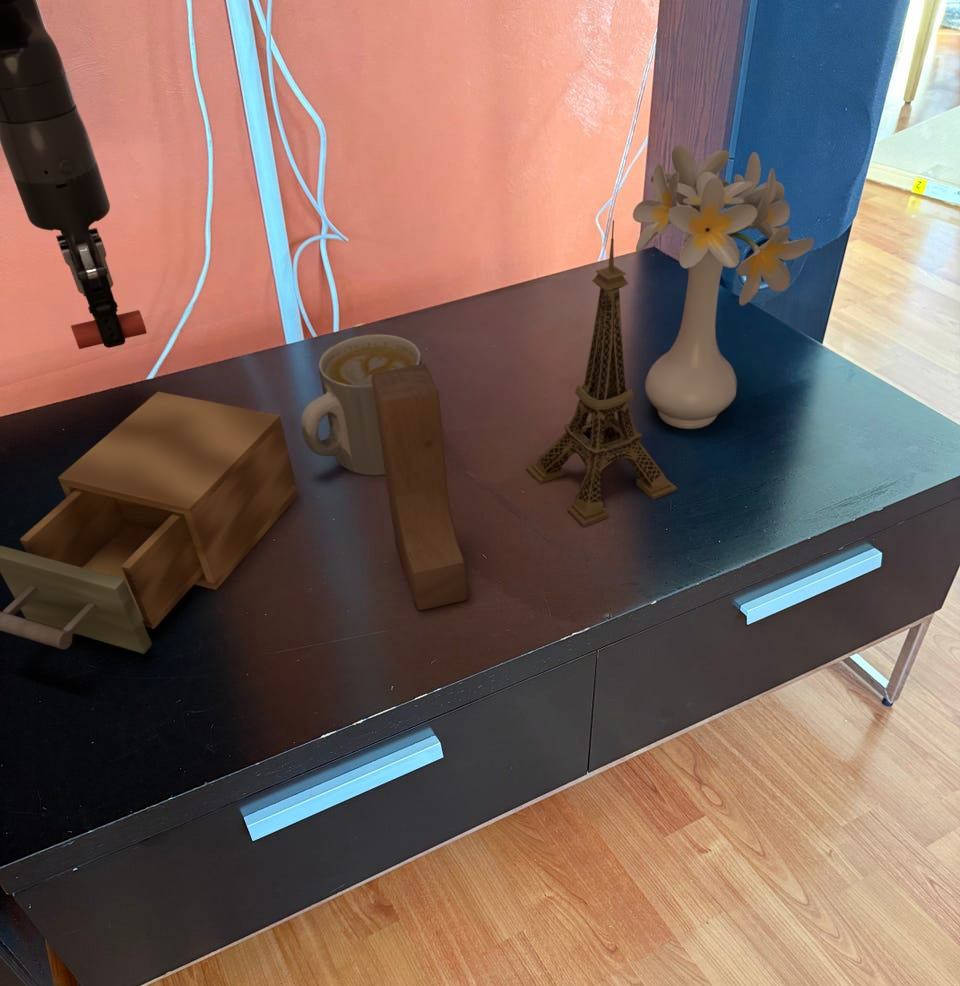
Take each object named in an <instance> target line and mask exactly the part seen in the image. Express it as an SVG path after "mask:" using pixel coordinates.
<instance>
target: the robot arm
mask: <svg viewBox="0 0 960 986" xmlns="http://www.w3.org/2000/svg"><path fill="white" fill-rule="evenodd" d="M0 145H1V149H2V151H3V154H4V157H5V160H6V162H7V165H8V168H9V171H10V173H11V176H12V178H13V181H14V184H15V186H16V189H17V191H18V195H19V196H20V197H19V198H20V199H21V202H22V205H23V207H24V211H25V214H26V215H27V218H28V220H29V222H30V223H31V224H32V225H33V226H34V227H36V228H38V229H41V230H45V231H60V233H61V234H59V235H55V238H56V241H57V244H58V246H59V250H60V252H61V255H62V257H63V261H64V262H65V264H66V265H67V266H68V267H69V269H70V271H71V275H72V277H73V280H74V283H75V286H76V288H77V291H78V292H79V293H80V294H82V295H83V297H85V299H86V302H87V303H88V306H87V309H88V312H89V314H91V315H92V317H93V320H95V321H96V324H97V327H98V330H99V333H100V336H101V338H102V341H103V344H102V345H103V346H104V347H105V348H108V349H110V348H114V347H119V346H123V345H125V343H126V338H125V337H124V334H123V331H122V328H121V325H120V322H119V319H118V316H117V315H118V313H117V312H118V308H119V306H118V303H117V301H116V299H115V297H114V294H113V291H112V287H113V286H114V281H113V277H112V275H111V271H110V269H109V265H108V262H107V260H106V259H107V258H106V257H107V251H106V248H105V245H104V241H103V239H102V237H101V236H100V234H99V230H98V228H97V227H93V228H90V226H91V225H92V224H94V223H95V222H99V221H101V220H102V219H104V218H105V217H106V216H107V215H108V214H109V212H110V209H111V204H110V201H109V197H108V193H107V190H106V187H105V184H104V181H103V179H102V174H101V171H100V168H99V165H98V161H97V158H96V155H95V152H94V148H93V145H92V142H91V140H90V136H89V133H88V130H87V128H86V125H85V123H84V121H83V119H82V117H81V114H80V112H79V109H78V106H77V104H76V99H75V97H74V94H73V90H72V87H71V84H70V81H69V78H68V74H67V72H66V69H65V65H64V62H63V59H62V57H61V54H60V52H59V49H58V47H57V45H56V43H55V42H54V40H53V39H52V37H51V35H50V34H49V33H48V31H47V30H46V28H45V26H44V24H43V22H42V20H41V18H40V15H39V12H38V8H37V6H36V2H35V0H0Z"/></svg>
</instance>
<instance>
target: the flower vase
mask: <svg viewBox="0 0 960 986" xmlns="http://www.w3.org/2000/svg"><path fill="white" fill-rule="evenodd" d="M729 159H730V152H729V151H727V150H718V151H715V152H713V153H712V154H710V155H709V156H707V157H705V159H703V161H702V162H701V164H700V165H699V167H698V164H697V159H696V158H695V156H694V154H693V152H692V150H690V149H689V148H688V147H687V146H685V145H683V144H678V145H676V146H674V147H673V149H672V152H671V161H672V165H673V168H674V170H675V172H674V173H673V172H665V169H664V166H663V165H662V164H661V163H658V164H657V165H656V166H655V169H654V171H653V175H652V176H650V177H651V178H650V182H651V183H652V190H653V195H654V197H655V198H656V199H657V200H656V199H651V198H649V199H644V200H642V201H640V202H639V203H638V204H637V205H636V206H635V207H634V208H633V212H632V218H633V220H634V221H635V222H637V223H640V224H649V225H647V226H646V227H644V229H643V231H641V233H640V236H639V237H638V240H637V243H636V246H635V252H636V253H639V252H641V251H642V250H643V249H644V248H645V247H646V246H647V245H648V244H649V243H650V242H651V241H652V240H653V239H654V238H655V237H656V236H657V235H658V236H662V235H663V234H664V233H665V232H666V231H667V228H668V226H669V225H670V224H671V225H672V226H673V227H674V228H676V230H679V231H680V232H683V233H684V236H683V237H684V241H685V242H684V244H683V246H682V247H681V250H680V253H679V257H678V261H679V265H680V267H682V268H683V269H688V276H687V278H688V279H687V286H686V293H685V300H684V306H683V314H682V317H681V319H682V320H681V324H680V328H679V330H678V331H679V332H678V334H677V336H676V338H675V340H674V342H673V344H672V345H671V347H670V348H669V350H667V351H666V352H665V353H663V354H662V355H661V356H660V357H658V358H657V360H656V361H654V363H653V364H652V365H651V366H650V368H649V370H648V373H647V374H646V378H645V381H644V391H645V395H646V397H647V399H648V401H649V402H650V403H651V405H652V406H653V407H654V408H655V409H656V410H657V413H658V417H659V418H660V419H661V420H662V421H663V422H664V423H665V424H667V425H670V426H671V427H674V428H677V429H682V430H683V429H684V430H696V429H701V428H704V427H707V426H709V425H710V424H712V423H713V422H714V421H715V420H716V418H717V417H718V415H719V414H721V413H722V412H724V411H725V410H726V409H728V407H729V406H730V405H731V404H732V402H733V401H734V400H735V398H736V395H737V390H738V379H737V376H736V373H735V370H734V368H733V366H732V364H731V363H730V362H729V361H728V360H727V358H726V357H725V356H724V355H722V353H721V351H720V348H719V345H718V341H717V333H716V329H717V327H716V326H717V325H716V323H717V322H716V321H717V310H718V302H719V301H718V300H719V290H720V283H721V276H722V271H723V268H724V267H726V268H728V269H734V268H736V267H737V266H738V267H737V268H736V274H737V275H738V276H740V277H745V281H744V284H743V286H742V289H741V292H740V295H739V299H738V302H739V303H738V304H739V306H745V305H747V304H748V303H750V301H752V300H753V298H754V297H755V296H756V294H757V293H758V291H759V289H760V288H761V285H762V279H763V281H764V282H765V284H766V285H767V286H768V287H769V289H771V290H772V291H774V292H775V293H776V292H777V293H783V292H785V290H787V289H788V288H789V286H790V284H791V273H790V271H789V268H788V267H787V266H786V264H785V263H784V261H793V260H794V259H797V258H800V257H802V255H805V254H806V253H807V252H808V251H809V250H811V248H812V247H814V244H815V239H813V238H811V237H807V238H806V237H805V238H800V239H796V240H791V241H790V240H789V237H790V234H791V227H790V226H789V225H785V224H786V223H787V222H788V221H789V218H790V216H791V210H790V204H789V203H788V202H787V200H785V199H783V198H784V196H785V187H784V185H783V183H781V182H779V181H777V179H776V172H775V169H774V167H771V168H770V171H769V174H768V177H767V182H764V183H762V184H760V185H758V184H759V183H760V180H761V175H762V174H761V173H762V170H761V169H762V165H761V161H760V157H759V155H758V153H757V152H756V151H753V152H752V153H750V155H749V158H748V162H747V166H746V170H745V175H744V177H743V176H742V175H741V174H735V175H734V177H733V179H734V180H733V182H734V183H730V182H729V181H727V180H725V179H722V178H719V177H718V176H717V175H718V174H719V173H720V172H721V171H722V170H723V168H724V167H725V166H726V164H727V163H728V161H729ZM677 204H678V205H677ZM724 209H725V210H724ZM782 225H785V226H782ZM748 229H750V230H751V231H755V230H758V231H759V232H760V233H761V234H762V235H763V236H765V238H767V239H768V240H767V241H766V242H765V243H762V244H761V245H760V246H759V245H758V244H757V243H756V242H755V241H754V240H753V239H752V238H750V237H749V236H747V235H745V234H744V233H740V232H742V231H745V230H748ZM735 239H738V240H741V241H742V242H744V243H746V244H747V245H748V246H749V247H750V248H751V249H752V251H753V253H752V254H751V255H749V256H748V257H747V258H745V259H744V260H743V261H742V262H741V263H740V260H741V255H740V250H739V247H738V245H737V243H736V242H735ZM782 260H783V261H782ZM739 263H740V264H739Z"/></svg>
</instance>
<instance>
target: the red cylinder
mask: <svg viewBox="0 0 960 986" xmlns="http://www.w3.org/2000/svg"><path fill="white" fill-rule="evenodd" d="M117 316H118V319H119V322H120V325H121V328H122V331H123V334H124V337H125V339H130V338H134V337H137V336H142V335H147V334H148V333H147V329H146V325H145V321H144V318H143V316H142V313H141V311H140V309H136V310H133V311H129V312H124V313H119V314H117ZM70 328H71V331H72V334H73V337H74V339H75V342H76V344H77V348H78V350H82V349H86V348H90V347H91V348H92V347H95V346H100V345H104V344H103V341H102V338H101V336H100V333H99V330H98V327H97V324H96V321H95V319H93V320H89V321H85V322H81V323H74V324H71V325H70Z"/></svg>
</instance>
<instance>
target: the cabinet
mask: <svg viewBox="0 0 960 986" xmlns="http://www.w3.org/2000/svg"><path fill="white" fill-rule="evenodd" d="M284 431H285V430H284V427H283V423H282V418H281V415H280V414H275V413H270V412H265V411H261V410H260V411H259V410H254V409H250V408H245V407H244V408H243V407H239V406H233V405H229V404H224V403H220V402H214V401H209V400H204V399H199V398H194V397H188V396H182V395H178V394H172V393H167V392H164V391H156V392H155V394H153V395H152V396H151V397H149V398H148V399H147V400H146V401H145V402H144V403H142V405H140V406H139V407H138V408H137V409H136V410H135V411H133V412H132V413H131V414H130V415H128V416H127V417H126V418H125V419H124V420H122V422H120V423H119V424H118V425H117V426H116V427H115V428H114V429H112V430H111V431H110V432H109V433H108V434H107V435H106V436H104V437H103V438H102V439H101V440H99V442H97V443H96V444H95V445H94V446H92V448H90V449H89V450H88V451H87V452H85V454H84V455H82V456H81V457H80V458H79V459H77V460H76V461H75V462H74V463H73V464H72V465H71V466H69V467H68V468H67V469H66V470H64V472H62V473H61V474H60V475H59V476H58V477H57V479H58V481H59V484H60V485H61V488H62V491H63V492H64V495H65V498H67V497H68V496H69V495H70V494H71V493H72V492H74V491H75V490H76V489H81V490H85V491H89V492H93V493H97V494H102V495H106V496H110V497H114V498H118V499H122V500H126V501H131V502H135V503H139V504H143V505H147V506H151V507H156V508H160V509H164V510H168V511H172V512H176V513H180V514H184V516H185V519H186V522H187V525H188V528H189V531H190V534H191V537H192V540H193V542H194V545H195V548H196V551H197V554H198V557H199V560H200V563H201V566H202V569H203V572H204V574H203V575H202V576H201V577H200V578H199V579H198V580H197V581H196V583H195V584H194V585H196V586H200V587H203V588H206V589H207V588H208V589H209V590H215V591H217V590H218V589H219V587H220V586H221V585H222V584H223V583H224V582H225V580H226V579H227V578H228V577H229V576H230V575H231V574H232V572H233V571H234V570H235V569H236V568H237V567H238V565H240V564H241V562H242V561H243V560H244V559H245V557H247V555H248V554H249V553H250V551H252V550H253V548H254V547H255V546H256V545H257V543H258V542H259V541H260V540H261V539H262V538H263V537H264V535H265V534H266V533H267V532H268V531H269V530H270V528H271V527H272V526H273V525H274V524H275V522H276V521H278V520H279V518H280V517H281V515H282V514H283V513H284V512H285V511H286V510H287V509H288V508H289V507H290V505H291V504H293V502H294V501H295V499H297V497H298V496H299V493H298V489H297V483H296V478H295V476H294V471H293V466H292V463H291V458H290V457H291V456H290V454H289V449H288V445H287V440H286V436H285V432H284Z"/></svg>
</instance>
